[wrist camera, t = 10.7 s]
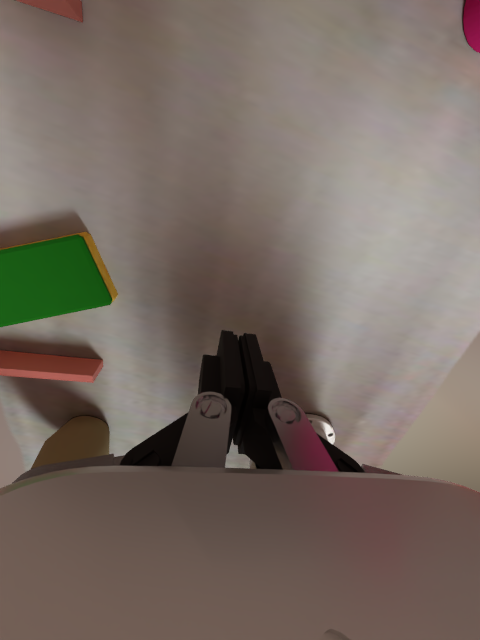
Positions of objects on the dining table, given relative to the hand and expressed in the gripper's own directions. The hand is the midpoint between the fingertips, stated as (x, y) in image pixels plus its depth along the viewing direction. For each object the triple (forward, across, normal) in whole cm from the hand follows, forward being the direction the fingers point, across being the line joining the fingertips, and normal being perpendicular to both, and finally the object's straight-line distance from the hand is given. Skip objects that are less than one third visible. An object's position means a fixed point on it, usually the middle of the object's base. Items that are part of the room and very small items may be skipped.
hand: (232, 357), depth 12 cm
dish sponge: (+17, +18, +4) cm, 26 cm away
